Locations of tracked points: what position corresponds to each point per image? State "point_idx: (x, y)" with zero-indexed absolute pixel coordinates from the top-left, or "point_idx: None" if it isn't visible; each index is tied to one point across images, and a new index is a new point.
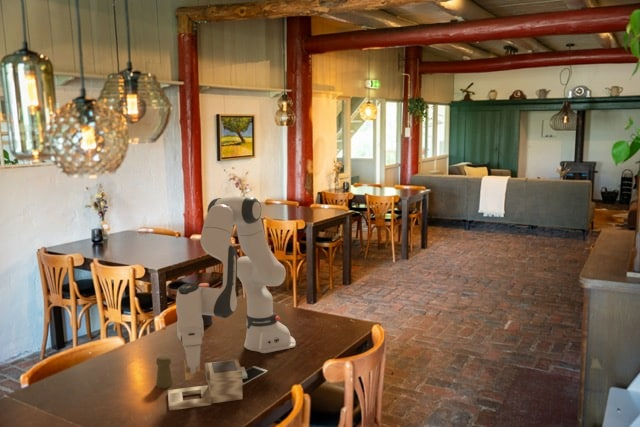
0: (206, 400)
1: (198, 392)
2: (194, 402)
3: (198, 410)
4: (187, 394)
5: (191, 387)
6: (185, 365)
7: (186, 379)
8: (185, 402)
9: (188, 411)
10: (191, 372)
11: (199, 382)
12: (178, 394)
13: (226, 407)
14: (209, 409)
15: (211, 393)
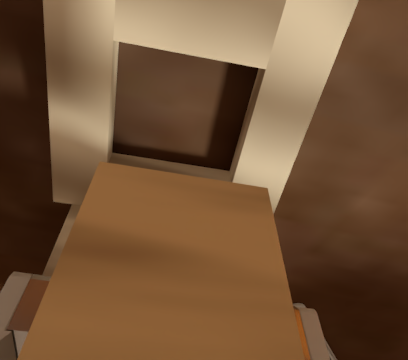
0: (64, 181)
1: (233, 164)
2: (54, 111)
3: (5, 106)
4: (250, 97)
5: (295, 146)
6: (32, 332)
7: (98, 172)
8: (74, 51)
9: (3, 41)
10: (8, 288)
11: (376, 197)
12: (238, 32)
13: (11, 236)
14: (6, 164)
15: (60, 235)
